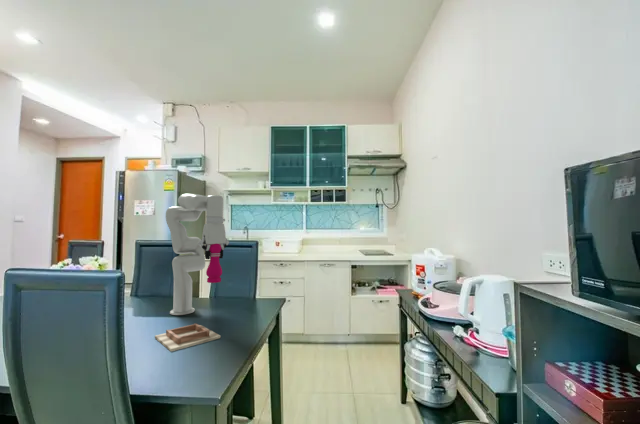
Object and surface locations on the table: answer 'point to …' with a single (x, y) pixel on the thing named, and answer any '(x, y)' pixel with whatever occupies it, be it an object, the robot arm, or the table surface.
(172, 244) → the robot arm
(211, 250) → the pepper mill
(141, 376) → the table surface
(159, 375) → the table surface
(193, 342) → the board
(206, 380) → the table surface
